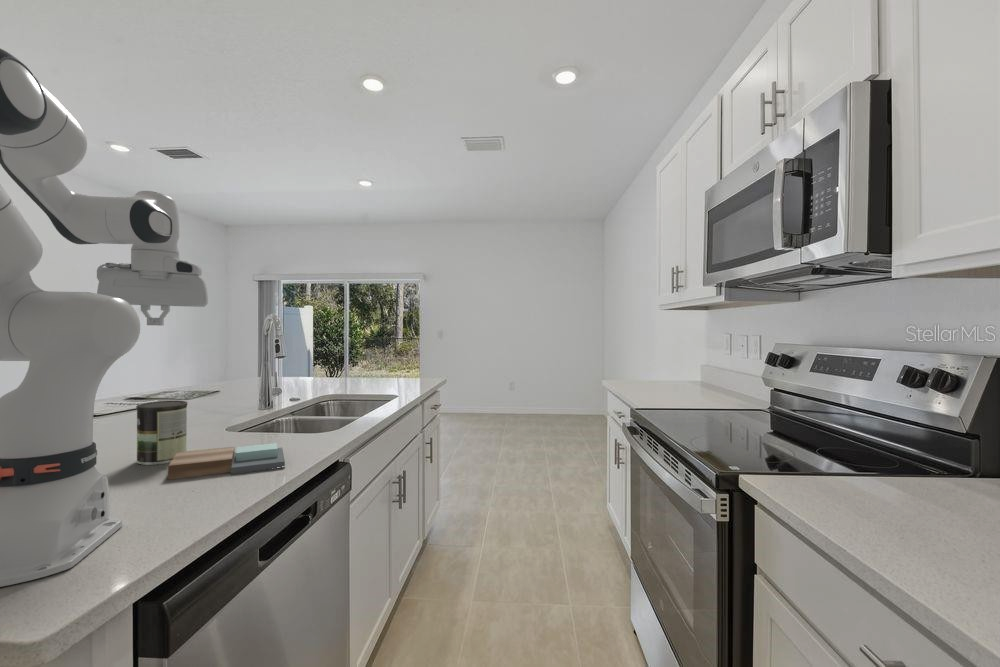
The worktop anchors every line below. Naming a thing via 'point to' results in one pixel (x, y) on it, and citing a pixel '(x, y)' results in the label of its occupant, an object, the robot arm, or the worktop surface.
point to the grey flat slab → (257, 463)
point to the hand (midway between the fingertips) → (155, 325)
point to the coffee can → (161, 431)
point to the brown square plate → (201, 462)
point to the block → (256, 452)
